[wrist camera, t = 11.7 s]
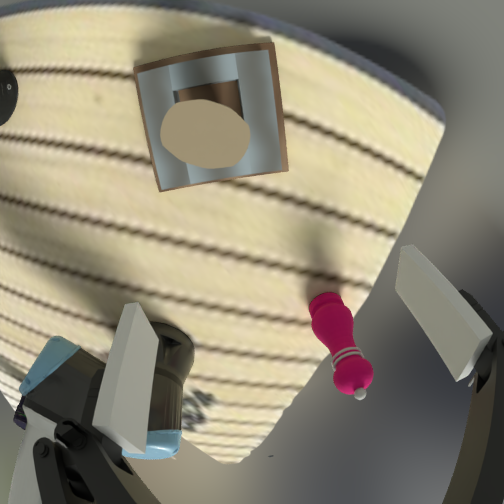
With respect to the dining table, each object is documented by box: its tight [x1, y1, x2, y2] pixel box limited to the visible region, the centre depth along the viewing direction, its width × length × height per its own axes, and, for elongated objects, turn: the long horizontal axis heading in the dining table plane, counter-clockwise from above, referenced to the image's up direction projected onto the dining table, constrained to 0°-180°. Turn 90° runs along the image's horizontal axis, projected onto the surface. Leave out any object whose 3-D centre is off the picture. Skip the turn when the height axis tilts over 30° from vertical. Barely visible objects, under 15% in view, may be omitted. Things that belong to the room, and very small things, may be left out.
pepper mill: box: [309, 292, 373, 400], centre depth 42 cm, size 7×7×20 cm
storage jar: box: [13, 395, 28, 430], centre depth 56 cm, size 10×10×15 cm
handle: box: [160, 99, 250, 169], centre depth 25 cm, size 5×6×15 cm
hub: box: [133, 42, 289, 192], centre depth 30 cm, size 17×17×5 cm
